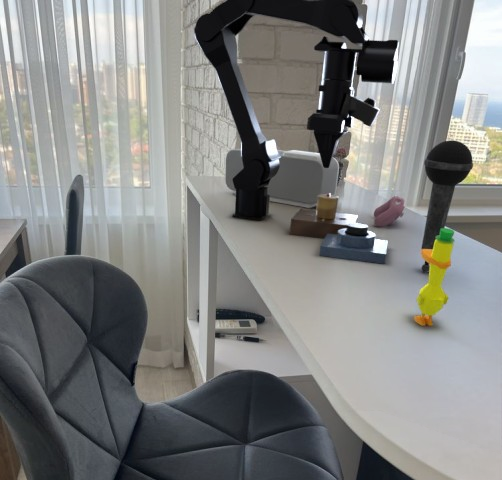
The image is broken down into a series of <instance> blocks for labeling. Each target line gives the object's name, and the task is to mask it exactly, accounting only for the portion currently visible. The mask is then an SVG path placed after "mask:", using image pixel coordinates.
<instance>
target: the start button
mask: <svg viewBox="0 0 502 480" xmlns="http://www.w3.org/2000/svg"><path fill="white" fill-rule="evenodd" d="M367 231H369V226H368V225H367V224H366V223H360V222H357V223H349V224H347V230H346V234H348V235H352V236H367Z"/></svg>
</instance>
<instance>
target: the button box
mask: <svg viewBox="0 0 502 480" xmlns="http://www.w3.org/2000/svg"><path fill="white" fill-rule="evenodd" d="M346 230H347V228H344V229H340V230H338V232H337V234H328V233H327V235H326V237H325V238H323V240H322V242H321V244H320V247H319V256H321V257H328V258H335V259H336V258H337V259H343V260H351V261H360V262H367V263H375V264H386V258H387V251H388V243H389V242H388V240H387V239H377V238H376V235H377V234H376V233H374V232H372V231H371V230H368V231H367V236H352V235H348V234H346Z"/></svg>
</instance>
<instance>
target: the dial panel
mask: <svg viewBox="0 0 502 480" xmlns="http://www.w3.org/2000/svg"><path fill="white" fill-rule="evenodd" d="M358 218H359V215H358V214H351V213H343V212H336V218H334V219H323V218H318V217H316V209H306V208H300V209H299V210H298V211H297V212H296V213H295V214H294V215H293V216H292V218H291V219H290V227H289V228H290V229H289V235H293V236H301V237H310V238H318V239H325V237H326V235H327V233H328V234H337V232H338V230H340V229H344V228H347V224H349V223H358V220H359V219H358Z"/></svg>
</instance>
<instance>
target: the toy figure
mask: <svg viewBox="0 0 502 480" xmlns="http://www.w3.org/2000/svg"><path fill="white" fill-rule="evenodd" d="M454 234H455V230H453V229H451V228H448V227H447V228H446V227H444V228H442V229H440V235H437V236H436V237H435V238H436V240H435V242H434V247H433V249H421V248H420V249H421V250H420V256H421V258H422V259H423V260H424V262H425V261H426V262H428V263H429V266H430V270H429V271H428V272H429V273H428V282H427V283H426V284H425V285H424V286H423V287H422V288H420V290H419V294H418V296H416V298H415V299H416V302H417V305H418V308H419V310H420V312H421V315H415V316H414V319H413V320H414V322H415V323H417V325H418V324H419V325H420V326H422V327H424V326H426V325H427V326H429V327H430V326H431V327H432V326H433V324H434V323H433V320H432V319H433V316H434V315H437V314H438V313H439V311H441V310H442V309H443V307H444V305H447V304H448V300H449V295H448V294H447V293H446V292H445V291H444V290H443V286H442V284H443V281H444V278H445V275H446V272H447V270H448V268H450V267H451V266H452V258H451V256H452V252H453V248H454V242H455V239H454V238H453V237H454Z"/></svg>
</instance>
